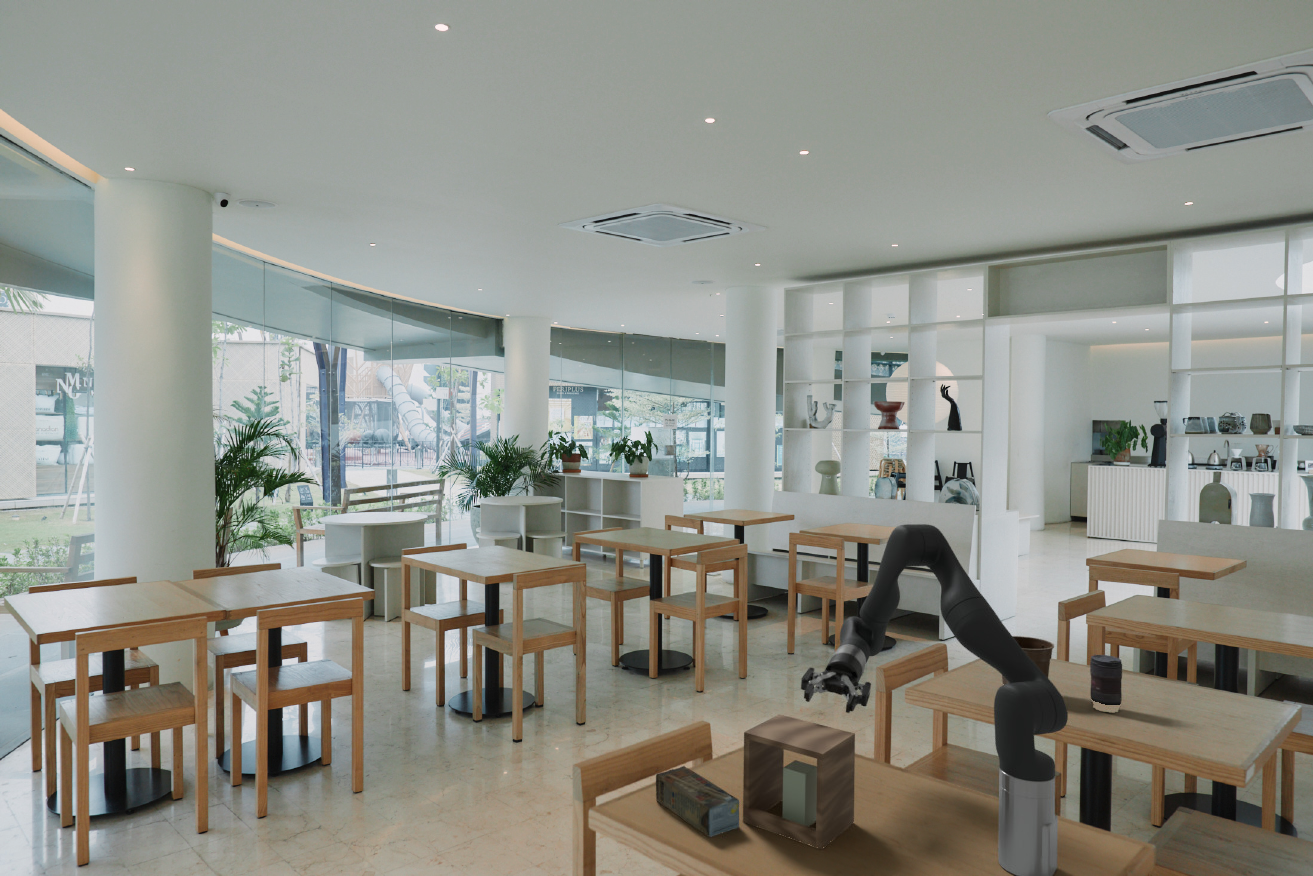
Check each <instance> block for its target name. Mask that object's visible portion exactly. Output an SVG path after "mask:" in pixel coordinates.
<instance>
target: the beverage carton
mask: <svg viewBox="0 0 1313 876" xmlns="http://www.w3.org/2000/svg"><path fill="white" fill-rule="evenodd" d="M655 792H656V793H655V798H656V799H655V801H657V802H658V803H659V804H660V805H662V806H664V807H665V808H667V810H670V811H671V812H672V813H674V814H675V815H677V816H678V817H680V818H681V819H682V820H684V821H685V822H686V823H688V825H689V824H690V825H691V826H692V827H694V828H695V829H696V830H698V831H700V832H702V833H703V834H705V835H706V836H707V837H709V838H712V836H713V837H715V836H717V834H718V835H720V833H721V834H723V833H722V832H724V833H727V832H729V831H732V829H733V830H736V829H739V828H740V800H739V798H737V797H735V796H733V795H732V794H730V793H729V792H728V791H726V790H724V789H722V788H721V787H719V786H718V785H716V784H714V783H713V782H711V781H710V780H709V779H707V778H705V777H703V776H702V775H701V774H698V773H697V772H695V771H693V770H692V769H690V768H688V767H686V766H685V765H683V766H680V767H678V768H675V769H674V768H672V769H669V770H667V771H662V772H659V773H656V776H655ZM726 831H727V832H726ZM714 835H715V836H714Z"/></svg>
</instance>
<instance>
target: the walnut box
mask: <svg viewBox="0 0 1313 876" xmlns="http://www.w3.org/2000/svg"><path fill="white" fill-rule="evenodd" d="M855 750H856V733H854V732H851V731H848V730H843V729H839V728H836V727H830V726H828V725H827V726H826V725H823V724H819V723H817V722H816V723H815V722H811V721H807V720H803V719H799V718H796V717H792V716H786V715H784V714H779V713H778V714H777V715H775V716H772V717H771V718H770V719H767V720H765V721H763V722H761V723H759V724H757V725H755V726H754V727H752V728H750V729H747V730H744V733H743V779H742V781H743V782H742V783H743V785H742V786H743V787H742V789H743V791H742V794H743V795H742V796H743V798H742V800H743V801H742V823H745V824H748V825H751V826H753V825H754V827H756V826H758V827H757V828H759V827H760V829H762V828H763V829H762V830H764V829H765V831H767V830H768V831H767V832H770V831H771V832H770V833H773V832H775V833H774V834H776V833H777V834H776V835H778V834H781V835H784V836H786V837H785V838H787V837H790V838H792V839H795V840H797V841H796V842H798V841H801V842H803V843H802V844H804V843H806V844H810V845H812V846H814V847H813V848H815V847H818V848H819V849H818V848H817V849H818V850H820V849H822V850H823V849H824V848H823V847H825V846H826V845H827V844H828V843H829V844H831V843H830V841H832V840H833V839H834V838H835V839H837V838H838V837H839V836H840V835H841V834H842V833H844V832H845V831H846V830H847V829H848V828H850V827H851V826H852V825H854V823H855V774H856V773H855V771H856V770H855V766H856V765H855V763H856V761H855V759H856V758H855V757H856V751H855ZM784 751H789V752H792V753H795V754H799V755H803V756H807V757H809V758H813V759H815V760H816V766H817V796H816V822H815V823H816V824H815V828H814V827H811V826H809V827H808V826H805V825H802V824H799V823H797V822H794V821H791V820H788V819H785V818H783V816H779V815H776V814H773V813H770V812H768V811H769V810H771V809H772V808H773V807H775V806H776V805H777V803H778V804H779V803H780V801H781V800H782V801H783V767H784V760H785V759H784V756H785V754H784V753H785V752H784ZM782 801H781V802H782ZM775 804H776V805H775ZM774 805H775V806H774ZM771 807H772V808H771ZM853 822H854V823H853ZM851 824H852V825H851ZM850 825H851V826H850ZM849 826H850V827H849ZM846 828H847V829H846ZM845 829H846V830H845ZM844 830H845V831H844ZM843 831H844V832H843ZM841 832H842V833H841ZM839 834H840V835H839ZM781 835H780V836H781ZM838 835H839V836H838ZM784 836H783V837H784ZM837 836H838V837H837ZM836 837H837V838H836ZM790 838H789V839H790ZM792 839H791V840H792ZM835 839H834V840H835ZM795 840H794V841H795ZM834 840H833V841H834ZM833 841H832V842H833ZM801 842H800V843H801ZM806 844H805V845H806ZM829 844H828V845H829ZM828 845H827V846H828ZM812 846H811V847H812ZM827 846H826V847H827ZM826 847H825V848H826Z"/></svg>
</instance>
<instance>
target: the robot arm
mask: <svg viewBox="0 0 1313 876" xmlns="http://www.w3.org/2000/svg"><path fill="white" fill-rule="evenodd" d="M907 567H927V568H928V569H929V570H930V571H931V572H932V573H933V574H934V576H935V577H936V579H937V580H938V582H939V585H940V599H939V600H940V613H941V617H942V618H943V621H944V622H945V624H946V625H947V627H948V628H949V630H950V632H952V634H953V636H954V637H955V639H956V641H957V642H958V643H959V644H960V645H961V646H962V647H963V648H965V650H967V651H968V652H970V653H971V654H973V656H976V657H977V658H978V659H980V660H982V661H983V662H985V663H986V664H987V665H989V666H991V667H992V668H993V669H994V670H996V671H997V672H998V673H1000V674H1001V676H1002V675H1003V676H1004V677H1005V678H1006V679H1007V681H1008V682H1009V684H1005V685H1003V684H1002V685H1000V686H999V688H998V689H997V691H996V694H995V697H994V702H993V717H994V719H993V720H994V738H995V739H994V742H995V749H996V753H997V756H998V761H999V762H998V763H999V769H998V770H999V772H998V773H999V776H998V777H999V778H998V782H999V783H998V838H997V839H998V841H997V842H998V847H997V852H998V854H997V857H998V864H999V865H1000V866H1001V867H1002V868H1003V869H1004V870H1006V871H1007V872H1009V873H1010V874H1013V875H1015V876H1054V874H1055V872H1056V871H1057V868H1058V829H1059V828H1058V826H1059V825H1058V824H1059V823H1058V818H1059V817H1058V815H1057V814H1055V813H1056V811H1055V810H1056V809H1055V808H1056V806H1055V805H1056V803H1055V802H1056V801H1055V800H1056V799H1055V798H1056V762H1055V760H1054V759H1053V758H1052V756H1050V755H1049V754H1047V753H1046V752H1043V751H1042V750H1038V749H1036V746H1035V745H1036V743H1035V736H1039V735H1047V734H1053V733H1056V732H1060V731H1061V730H1063V729H1064V728H1065V727H1066V725H1067V723H1068V719H1069V718H1068V715H1069V714H1068V713H1069V712H1068V707H1067V705H1066V702H1065V700H1064V698H1063V696H1062V694H1061V693H1060V691H1059V690H1058V688H1057V687H1056V686H1055V684H1054V683H1053V682H1052V681H1051V679H1050V678H1049V677H1048V678H1047V677H1046V675H1045V674H1044V673H1043V672H1042V671H1041V670H1040V669H1039V668H1038V667H1037V666H1036V664H1035V663H1034V662H1033V661H1032V660H1031V659H1030V658H1029V657H1028V655H1027V654H1026V653H1025V652H1024V651H1023V649H1022V648H1021V647H1020V646H1019V644H1018V643H1017V642H1016V640H1015V639H1014V638H1013V637H1012V636H1013V635H1012V634H1011V632H1010V631H1009V630H1008V629H1007V628H1006V626H1005V624H1004V623H1003V622H1002V620H1001V619H1000V618H999V615H998V614H997V613H996V611H995V610H994V609H993V608H992V606H991V605H990V603H989V602H988V601H987V599H986V598H985V597H984V596H983V594H982V593H981V591H979V589H978V587H977V586H976V585H975V583H974V582H973V580H972V579H971V578H970V576H969V575H968V573H967V572H966V571H965V569H964V567H963V566H962V564H961V563H960V561H959V558H958V557H957V556H956V553H955V552H954V551H953V549H952V547H951V545H950V544H949V542H948V540H947V538H946V536H945V535H944V534H943V532H942V531H941V530H940V529H939V528H938V527H936V526H935V525H932V524H927V523H923V524H922V523H921V524H920V523H918V524H911V523H910V524H909V523H908V524H901V525H897V526H896V527H895V528H894V529H893V530H892V531H891V533H890V535H889V537H888V539H887V542H886V545H885V548H884V551H883V555H882V557H881V560H880V564H879V568H878V570H877V574H876V578H875V580H874V582H873V585H872V587H871V589H870V591H869V593H868V595H867V596H866V598H865V600H864V601H863V603H862V604H861V608H860V609H859V617H858V616H855V615H853V616H849V617H847V618H846V619H845V621H843V623H842V625H841V628H840V633H839V641H840V643H839V644H840V645H839V647H838V648H837V649H836V650H835V651H834V653H833V654H832V656H831V658H830V659H829V661H828V663H827V664H826V667H825V669H824V670H823V671H822V672H817V671H815V668H814V667H808V669H807V670H806V672H805V673H804V674H803V676H802V677H801V678H800V680H801V682H800V689H801V690H802V691H804V692H803V699H805V702H807V703H809V702H810V701H811V699H812V698H813V697H814V694H816V693H819V694H824V693H826V692H829V693H832V694H833V693H834V694H836V695H840V696H843V697H844V698H845V699H846V701H847V702H846V706H845V713H847V714H850V713H851V712H854V711H855V709H856V706H858V705H860V706H861V707H867V706H868V701H869V698H870V696H871V690H872V683H871V682H869V681H866V682H864V684H863V683H860V681H861V678H862V677H863V675H864V673H865V669H866V665H867V662H868V661H869V658H870V657H875V656H877V655H878V654H879V653H881V651H882V650H883V648H884V644H885V640H886V634H887V633H886V632H887V628H888V624H889V622H890V620H892V617H893V615H894V614H895V613H896V610H897V609H898V606H899V605H900V600H901V599H900V598H901V592H900V586H899V581H898V579H899V577H900V575H901V574H902V572H903V571H904V570H905V569H906V568H907ZM858 690H859V691H860V692H859V693H861V694H859V693H858V692H857V691H858Z"/></svg>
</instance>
